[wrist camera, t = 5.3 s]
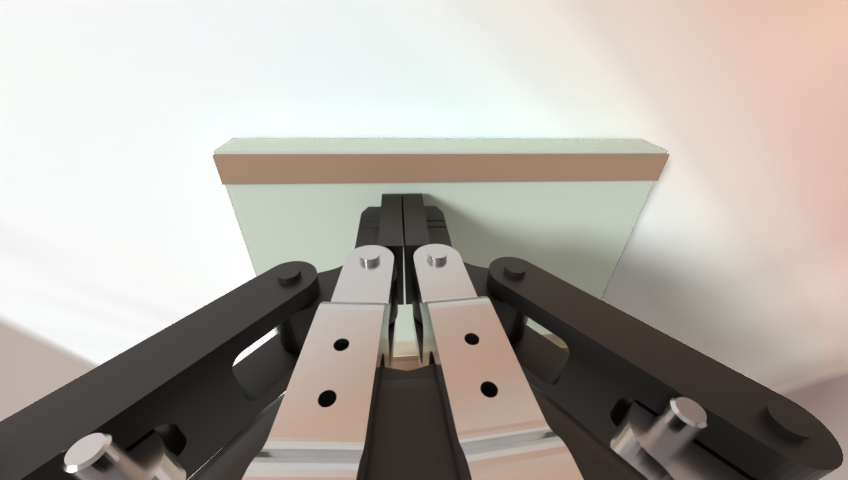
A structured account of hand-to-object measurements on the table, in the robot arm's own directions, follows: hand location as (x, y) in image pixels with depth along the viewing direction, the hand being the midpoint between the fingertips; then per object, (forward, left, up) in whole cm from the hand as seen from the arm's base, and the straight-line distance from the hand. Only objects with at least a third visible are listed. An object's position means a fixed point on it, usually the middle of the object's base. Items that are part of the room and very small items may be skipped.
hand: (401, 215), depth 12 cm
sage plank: (-2, +2, -1) cm, 3 cm away
